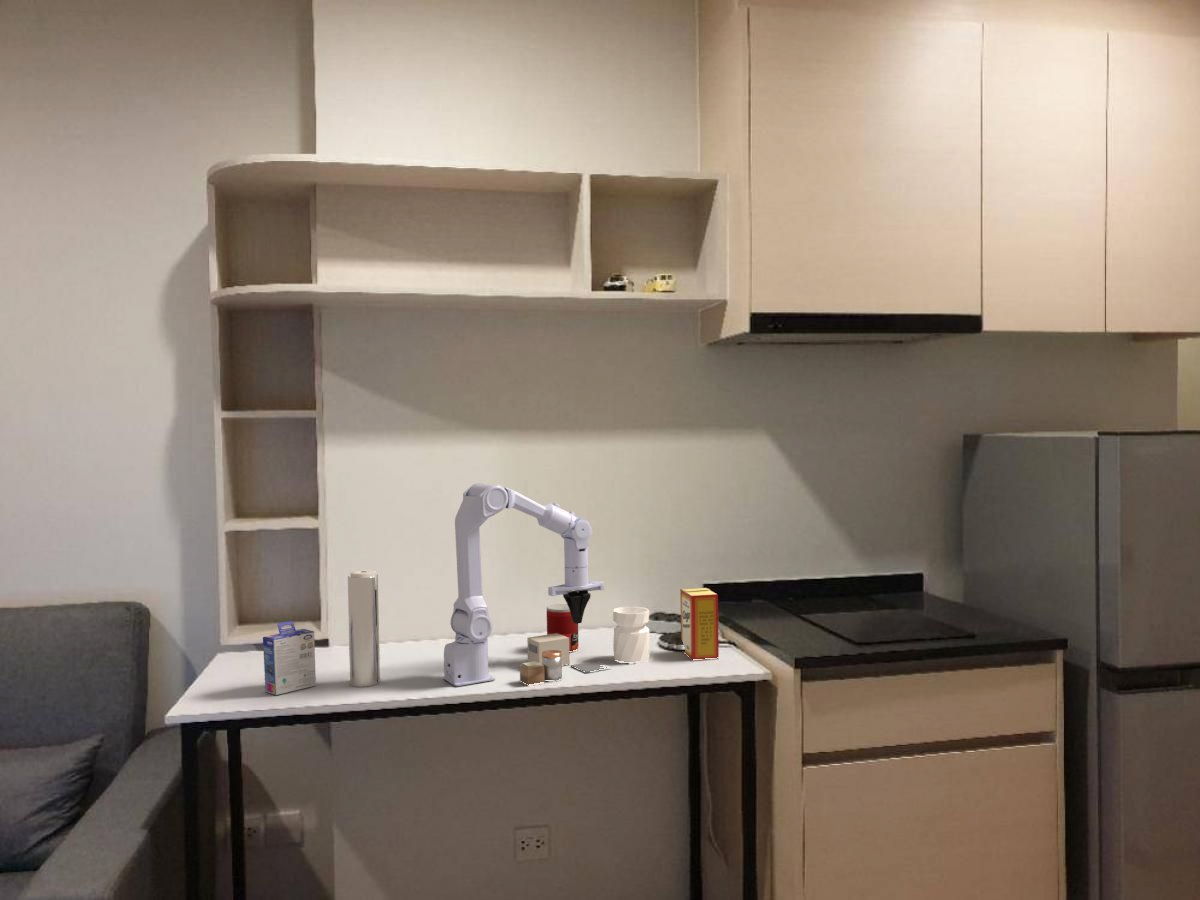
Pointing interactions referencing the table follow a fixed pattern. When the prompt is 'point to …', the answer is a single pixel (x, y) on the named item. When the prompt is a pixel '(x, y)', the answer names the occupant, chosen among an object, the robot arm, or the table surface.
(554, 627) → the canned food
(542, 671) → the walnut block
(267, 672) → the ink cartridge box
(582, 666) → the pad
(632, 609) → the white faceted vase
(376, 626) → the beige tall cylinder
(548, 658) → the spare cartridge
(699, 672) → the table surface
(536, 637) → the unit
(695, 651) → the red and yellow box
